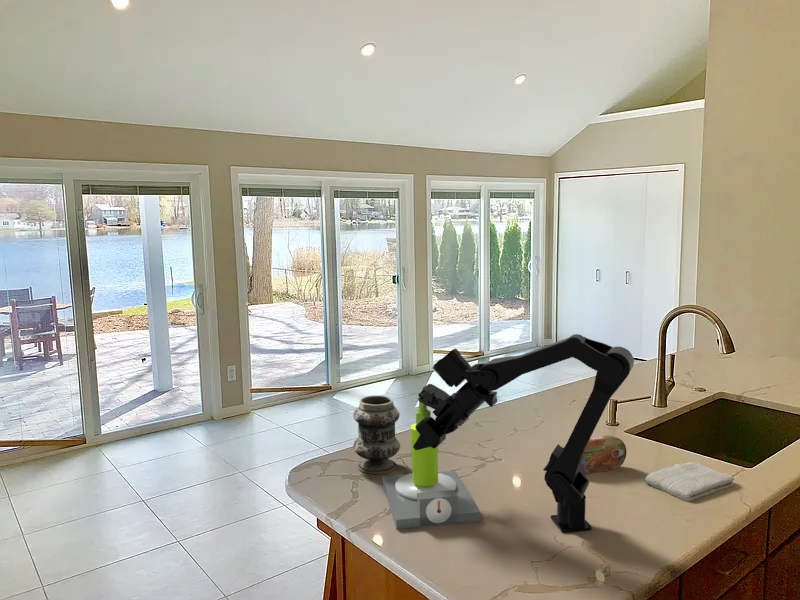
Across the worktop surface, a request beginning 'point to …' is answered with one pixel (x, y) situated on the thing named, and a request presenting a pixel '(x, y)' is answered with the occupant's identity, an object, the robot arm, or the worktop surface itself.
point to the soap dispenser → (423, 454)
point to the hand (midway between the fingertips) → (420, 444)
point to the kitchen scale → (429, 501)
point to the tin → (603, 454)
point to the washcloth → (689, 480)
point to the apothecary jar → (376, 434)
